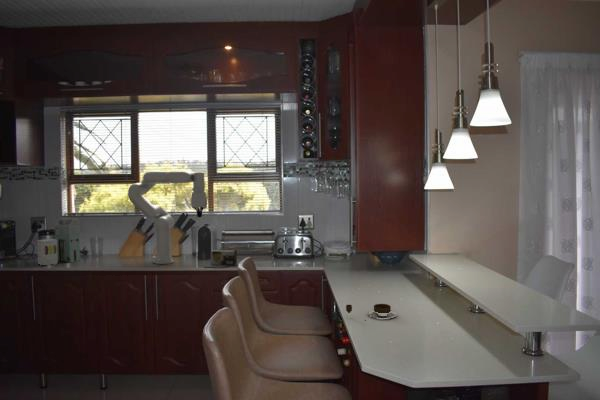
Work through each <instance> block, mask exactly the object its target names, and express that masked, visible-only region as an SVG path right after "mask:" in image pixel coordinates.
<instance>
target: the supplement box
mask: <svg viewBox="0 0 600 400" xmlns="http://www.w3.org/2000/svg"><path fill="white" fill-rule="evenodd" d="M36 242H37V244H36V245H37V246H36V247H37V248H36V249H37V265H38V264H40V265H39V266H42V265H47V266H51V265H50V264H54V265H58V264H57V263H58V257H57V240H56V239H55V238H48V239H47V238H46V239H45V238H44V239H37V240H36Z"/></svg>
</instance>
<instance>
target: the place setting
mask: <svg viewBox="0 0 600 400" xmlns="http://www.w3.org/2000/svg"><path fill="white" fill-rule="evenodd" d="M345 310H346V312H347V313H350V314H351V313H352V311H353V306H352V304H346V305H345ZM373 310H374V311H375V312H378V313H389V312H390V311H392V309H391V305H390V304H387V303H376V304H374V305H373Z"/></svg>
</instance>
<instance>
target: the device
mask: <svg viewBox="0 0 600 400" xmlns="http://www.w3.org/2000/svg"><path fill="white" fill-rule="evenodd" d="M54 239H56V240H57V257H58V261H59V262H63V261H66V263H70V262H72V263H76V262H81V250H80V249H81V248H80V247H81V246H80V245H81V244H80V222H79V218H76V217H75V218H74V217H60V218H58V220H57V221H56V222H55V224H54Z"/></svg>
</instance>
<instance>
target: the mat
mask: <svg viewBox="0 0 600 400" xmlns="http://www.w3.org/2000/svg"><path fill="white" fill-rule="evenodd" d="M228 266H229V265H211V263H209V264H207V265H205V266H203V268H207V269H224V268H225V267H228Z"/></svg>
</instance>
